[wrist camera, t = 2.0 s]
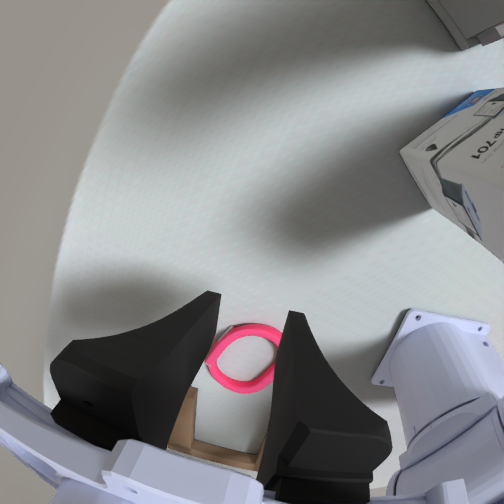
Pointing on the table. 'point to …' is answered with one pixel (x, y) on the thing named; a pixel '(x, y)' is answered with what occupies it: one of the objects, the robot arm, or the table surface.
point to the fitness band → (227, 339)
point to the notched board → (185, 443)
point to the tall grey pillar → (471, 20)
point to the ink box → (465, 167)
